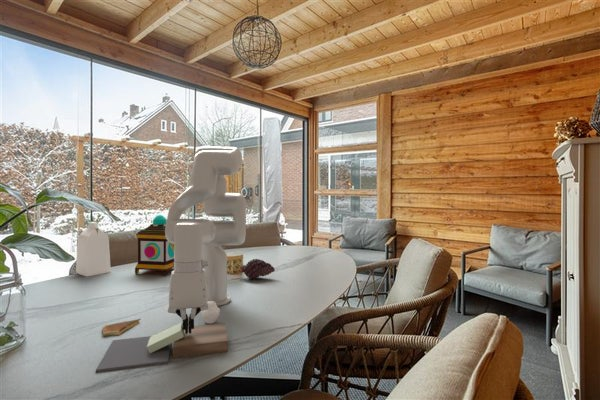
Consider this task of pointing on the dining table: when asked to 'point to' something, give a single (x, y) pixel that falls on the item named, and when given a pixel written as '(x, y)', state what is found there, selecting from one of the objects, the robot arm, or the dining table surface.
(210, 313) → the white swirled ornament
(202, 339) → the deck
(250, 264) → the pine cone
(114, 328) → the shard
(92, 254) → the milk
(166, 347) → the mat
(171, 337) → the pale green block
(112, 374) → the dining table surface
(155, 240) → the decorative lantern
